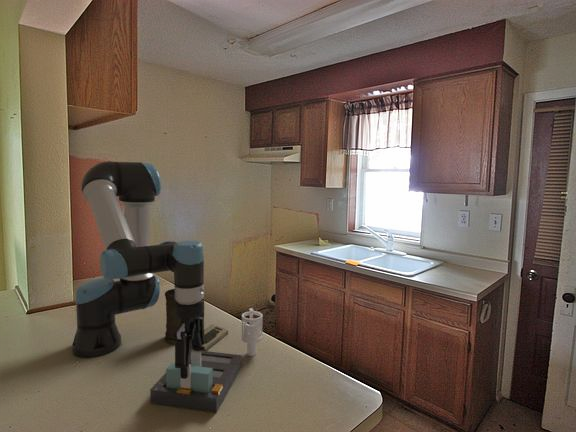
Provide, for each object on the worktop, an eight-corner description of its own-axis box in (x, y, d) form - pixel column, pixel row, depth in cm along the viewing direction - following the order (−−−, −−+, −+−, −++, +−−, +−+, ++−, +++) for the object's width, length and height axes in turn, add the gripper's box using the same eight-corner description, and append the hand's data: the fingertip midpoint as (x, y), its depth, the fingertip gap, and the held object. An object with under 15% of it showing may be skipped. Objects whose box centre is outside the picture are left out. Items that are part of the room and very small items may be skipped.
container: (176, 346, 124) (175, 297, 122) (159, 339, 129) (158, 292, 127) (195, 336, 132) (194, 290, 130) (178, 330, 136) (178, 286, 134)
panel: (166, 396, 95) (166, 368, 94) (171, 390, 97) (171, 363, 97) (208, 402, 93) (208, 374, 92) (212, 395, 95) (212, 368, 95)
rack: (150, 403, 93) (150, 387, 93) (187, 360, 115) (187, 347, 114) (216, 413, 90) (216, 396, 90) (241, 367, 112) (242, 353, 111)
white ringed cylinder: (260, 347, 125) (261, 307, 123) (263, 357, 118) (264, 315, 116) (240, 349, 123) (241, 308, 121) (242, 359, 116) (242, 316, 114)
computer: (204, 353, 120) (204, 344, 120) (185, 349, 123) (185, 340, 123) (228, 335, 135) (228, 326, 135) (210, 331, 138) (210, 323, 137)
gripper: (186, 315, 83) (188, 404, 86) (216, 288, 101) (216, 362, 105) (157, 312, 84) (160, 400, 87) (191, 286, 103) (193, 359, 106)
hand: (191, 379), depth 96 cm, fingers open, 6 cm apart
